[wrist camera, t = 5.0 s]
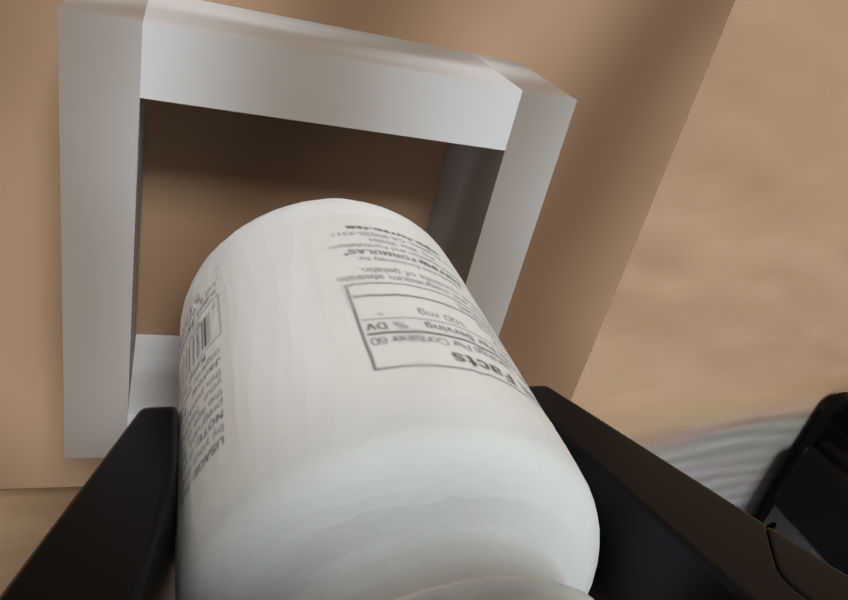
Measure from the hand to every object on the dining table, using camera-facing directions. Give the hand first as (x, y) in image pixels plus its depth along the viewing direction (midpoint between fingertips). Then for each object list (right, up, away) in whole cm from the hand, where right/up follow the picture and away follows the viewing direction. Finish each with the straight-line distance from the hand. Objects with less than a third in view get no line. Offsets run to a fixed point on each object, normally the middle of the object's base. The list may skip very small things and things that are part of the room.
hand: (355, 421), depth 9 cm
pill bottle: (-1, +1, +2) cm, 3 cm away
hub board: (-2, +4, +6) cm, 7 cm away
